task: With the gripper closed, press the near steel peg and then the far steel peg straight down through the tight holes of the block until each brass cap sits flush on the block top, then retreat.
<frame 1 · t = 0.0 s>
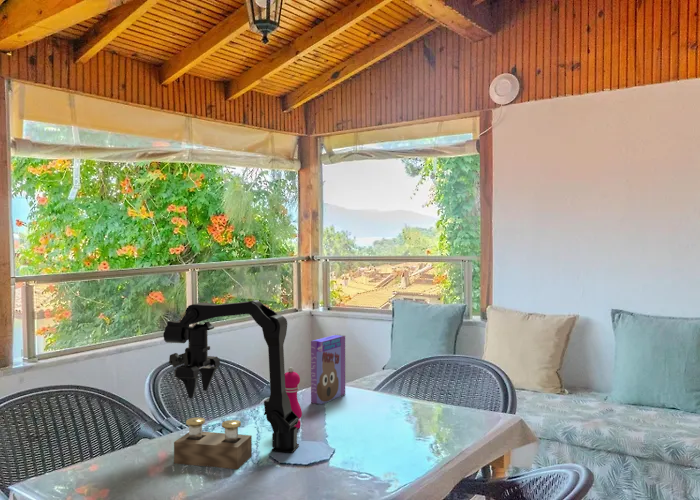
hand: (198, 394, 184), 15 cm above the table, fingers open, 9 cm apart
peg near: (231, 434, 168), point 8 cm above the table, slide at 4.0 cm
cereal box: (328, 399, 234), on the table
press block: (213, 459, 169), on the table
pepper mill: (291, 427, 199), on the table
peg far: (195, 431, 170), point 8 cm above the table, slide at 4.0 cm
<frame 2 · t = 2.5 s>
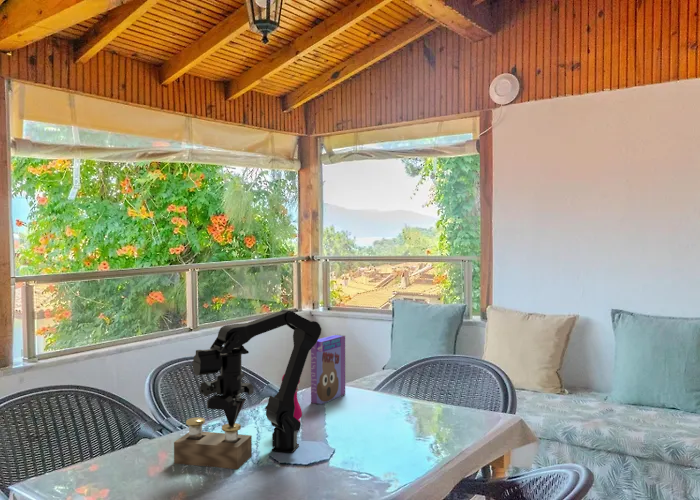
hand: (231, 425, 168), 10 cm above the table, fingers closed, pressing on peg near
peg near: (231, 437, 168), point 7 cm above the table, slide at 3.1 cm, touching gripper
everything else where it was.
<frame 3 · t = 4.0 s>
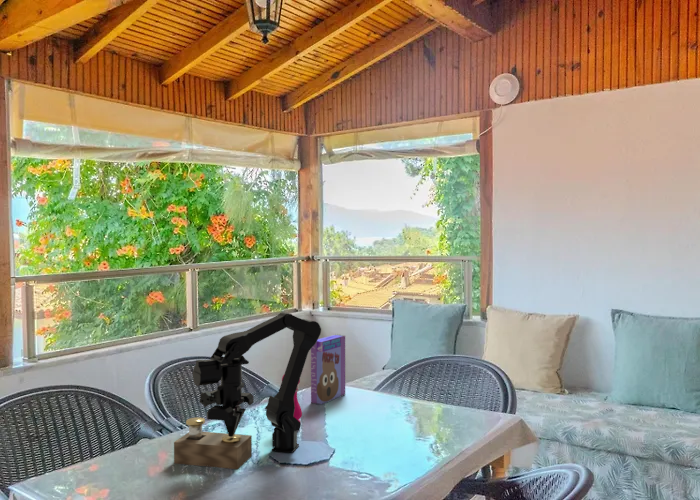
hand: (231, 436, 168), 7 cm above the table, fingers closed
peg near: (231, 448, 168), point 4 cm above the table, slide at -0.1 cm, touching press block
everything else where it was.
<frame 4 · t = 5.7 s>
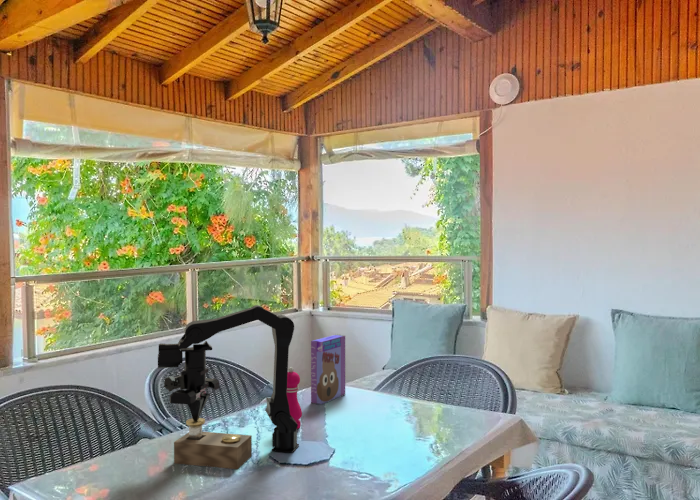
hand: (195, 420, 170), 11 cm above the table, fingers closed, pressing on peg far
peg far: (195, 431, 170), point 8 cm above the table, slide at 3.9 cm, touching gripper
everything else where it was.
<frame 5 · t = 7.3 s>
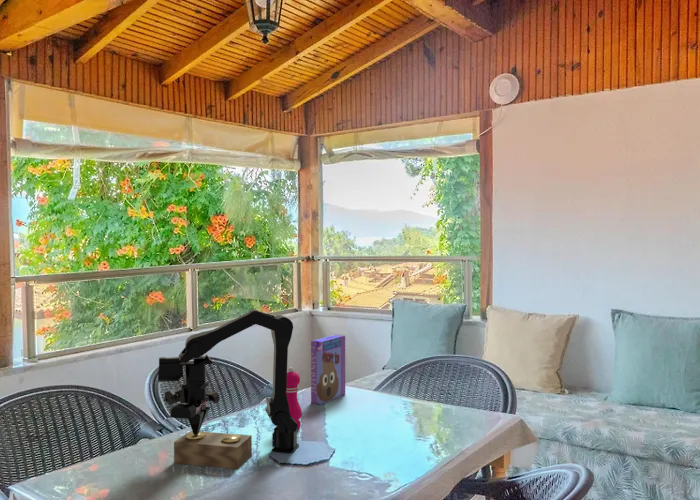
hand: (195, 434, 170), 7 cm above the table, fingers closed
peg far: (195, 445, 170), point 4 cm above the table, slide at -0.1 cm, touching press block
everything else where it was.
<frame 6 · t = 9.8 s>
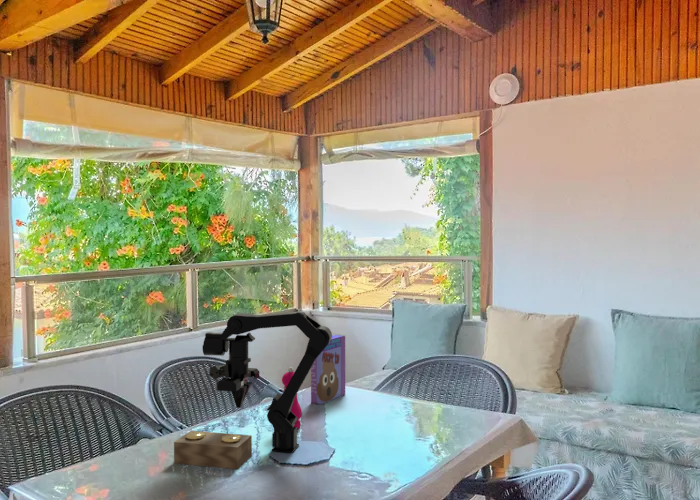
hand: (238, 407, 179), 12 cm above the table, fingers closed
nothing on the table moved.
at the end: peg near slide at -0.1 cm; peg far slide at -0.1 cm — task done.
